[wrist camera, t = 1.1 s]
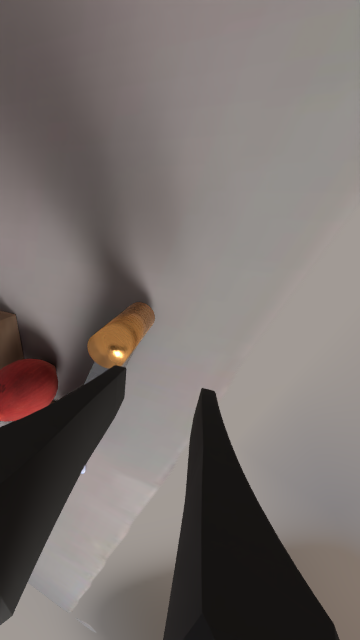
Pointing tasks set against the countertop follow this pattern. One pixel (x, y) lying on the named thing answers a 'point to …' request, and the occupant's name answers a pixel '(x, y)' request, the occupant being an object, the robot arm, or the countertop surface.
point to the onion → (26, 388)
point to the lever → (119, 338)
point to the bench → (9, 340)
